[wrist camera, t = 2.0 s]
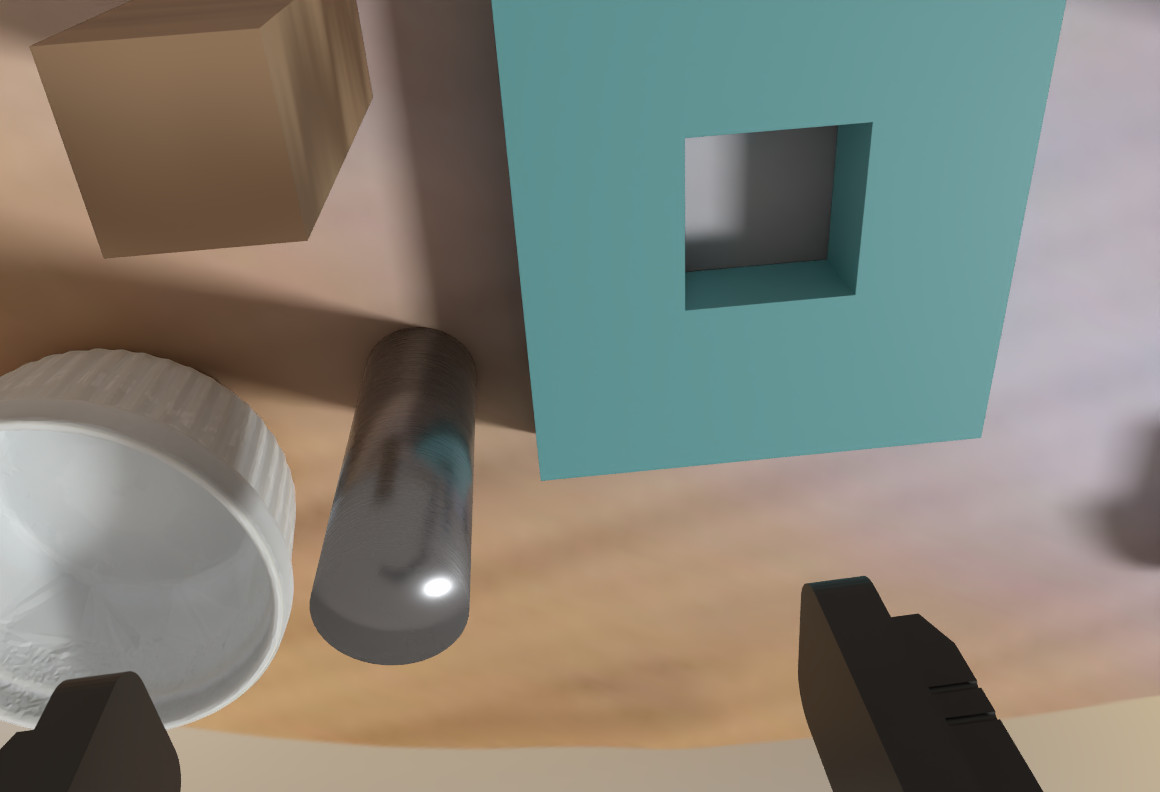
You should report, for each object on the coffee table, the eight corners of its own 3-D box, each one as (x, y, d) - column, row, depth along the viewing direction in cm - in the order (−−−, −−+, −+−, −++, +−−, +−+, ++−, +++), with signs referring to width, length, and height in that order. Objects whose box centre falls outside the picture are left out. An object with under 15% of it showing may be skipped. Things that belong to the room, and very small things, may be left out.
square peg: (207, -34, 27) (29, 45, 16) (348, -45, 27) (259, 28, 16) (242, 108, 29) (103, 258, 18) (372, 97, 29) (307, 240, 19)
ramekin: (14, 245, 30) (-103, 343, 24) (380, 416, 35) (358, 535, 29) (-91, 524, 36) (-209, 661, 30) (239, 641, 40) (196, 782, 34)
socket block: (483, -95, 26) (482, -87, 24) (1035, -136, 27) (1092, -133, 24) (537, 434, 36) (540, 480, 33) (946, 395, 36) (980, 437, 34)
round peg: (355, 332, 33) (294, 557, 23) (469, 322, 33) (458, 541, 23) (376, 427, 35) (327, 672, 25) (482, 417, 35) (478, 656, 25)
